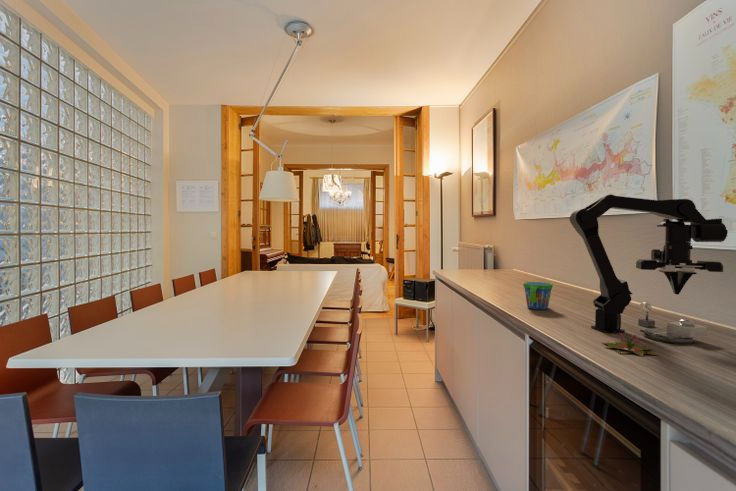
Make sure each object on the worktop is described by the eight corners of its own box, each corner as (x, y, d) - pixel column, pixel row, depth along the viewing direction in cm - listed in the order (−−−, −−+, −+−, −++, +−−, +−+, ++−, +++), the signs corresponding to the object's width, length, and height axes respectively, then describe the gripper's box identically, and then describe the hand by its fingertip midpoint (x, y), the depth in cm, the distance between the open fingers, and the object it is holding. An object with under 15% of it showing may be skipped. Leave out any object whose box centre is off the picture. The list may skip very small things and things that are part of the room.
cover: (690, 337, 94) (691, 323, 94) (666, 331, 100) (667, 318, 100) (706, 336, 96) (707, 322, 96) (682, 330, 102) (682, 317, 102)
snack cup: (531, 303, 149) (531, 280, 148) (558, 307, 141) (558, 282, 141) (516, 309, 138) (516, 283, 138) (544, 313, 130) (544, 286, 130)
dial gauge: (647, 327, 111) (648, 303, 111) (638, 324, 114) (638, 301, 114) (655, 326, 112) (655, 302, 112) (645, 324, 115) (645, 301, 115)
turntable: (673, 345, 93) (673, 339, 93) (633, 334, 104) (633, 328, 104) (703, 342, 96) (704, 336, 96) (661, 331, 106) (661, 325, 106)
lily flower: (670, 361, 83) (671, 342, 83) (616, 358, 85) (616, 339, 85) (640, 345, 95) (640, 328, 95) (592, 342, 97) (593, 326, 97)
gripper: (705, 241, 106) (704, 292, 107) (631, 241, 114) (630, 288, 114) (725, 242, 96) (723, 298, 97) (642, 242, 104) (641, 293, 104)
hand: (676, 294), depth 103 cm, fingers closed
